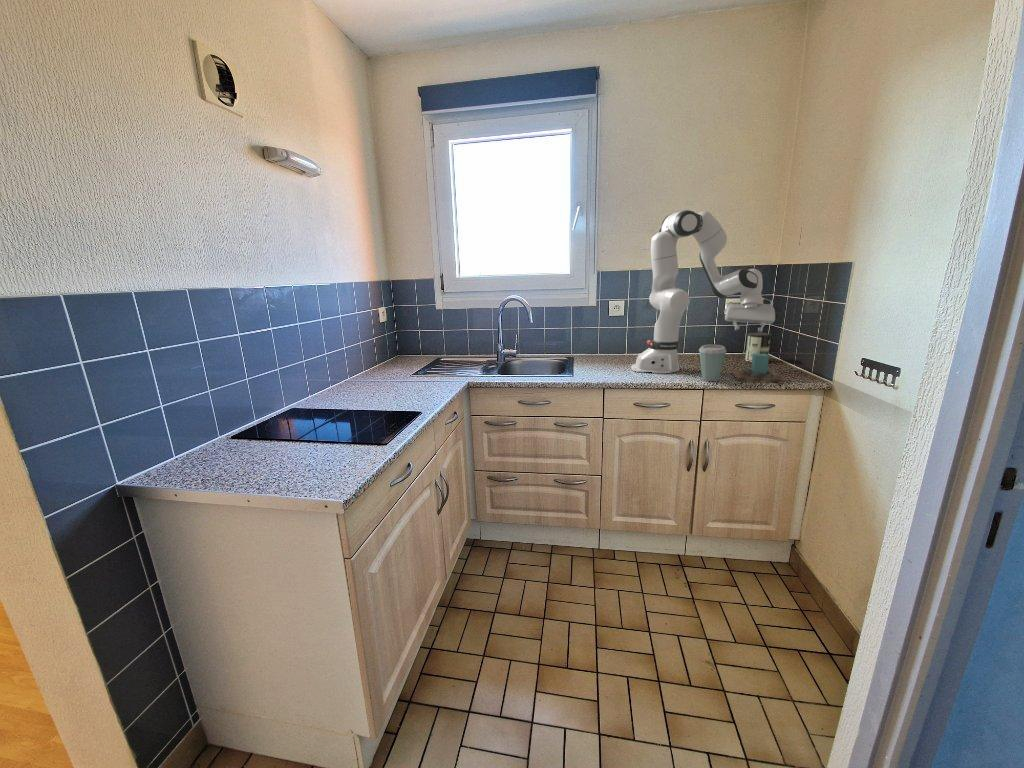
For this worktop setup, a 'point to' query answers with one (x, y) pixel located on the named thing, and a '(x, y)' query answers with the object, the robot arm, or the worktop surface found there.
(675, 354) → the robot arm
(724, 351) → the disposable coffee cup
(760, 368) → the pillar
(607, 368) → the worktop surface
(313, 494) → the worktop surface
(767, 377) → the base board
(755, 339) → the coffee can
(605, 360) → the worktop surface
